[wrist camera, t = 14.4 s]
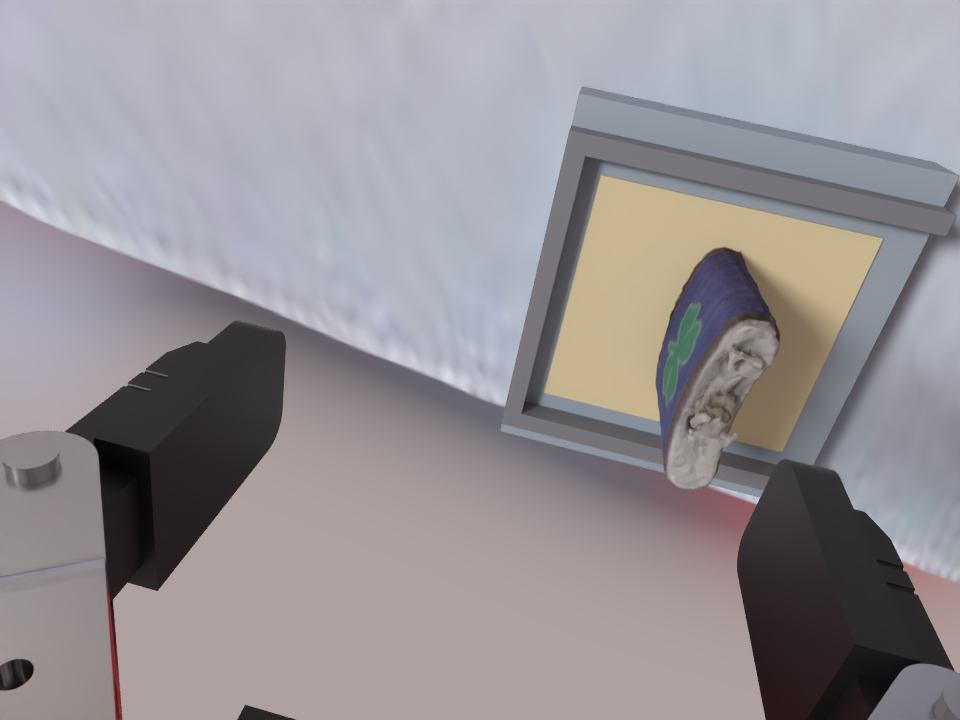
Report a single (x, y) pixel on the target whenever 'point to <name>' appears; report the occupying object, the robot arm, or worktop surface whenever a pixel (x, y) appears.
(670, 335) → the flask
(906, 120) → the worktop surface
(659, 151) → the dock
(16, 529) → the robot arm
